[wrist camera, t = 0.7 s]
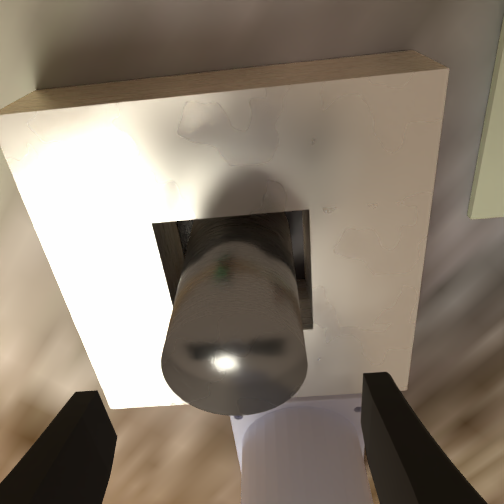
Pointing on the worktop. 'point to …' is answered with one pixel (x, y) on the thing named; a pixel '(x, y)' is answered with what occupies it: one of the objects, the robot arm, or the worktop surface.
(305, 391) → the housing
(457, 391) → the worktop surface
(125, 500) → the worktop surface
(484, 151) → the mat
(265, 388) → the grey cylinder
